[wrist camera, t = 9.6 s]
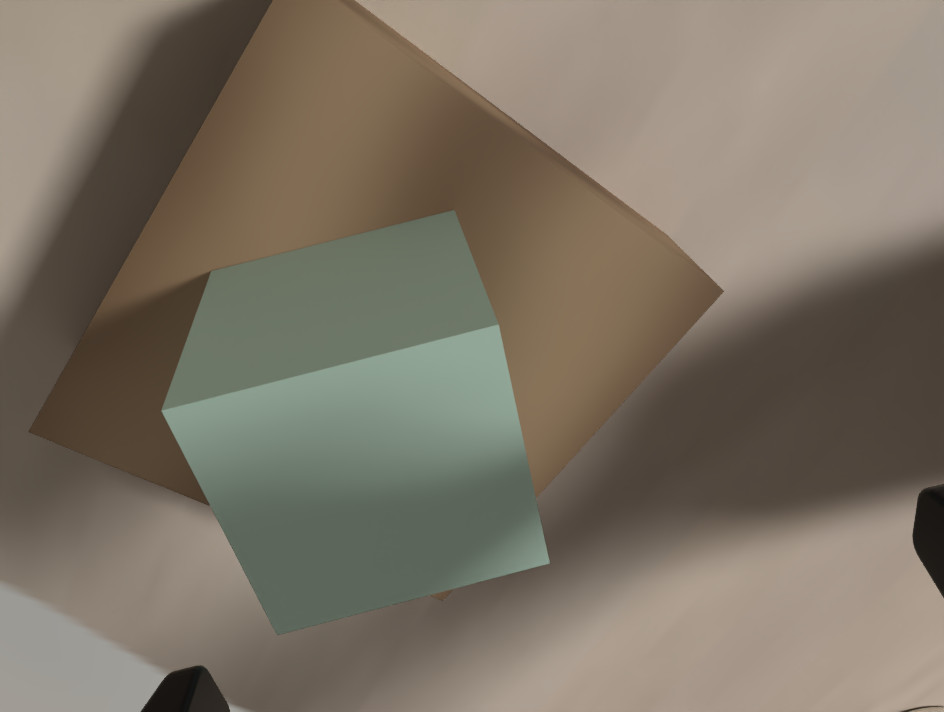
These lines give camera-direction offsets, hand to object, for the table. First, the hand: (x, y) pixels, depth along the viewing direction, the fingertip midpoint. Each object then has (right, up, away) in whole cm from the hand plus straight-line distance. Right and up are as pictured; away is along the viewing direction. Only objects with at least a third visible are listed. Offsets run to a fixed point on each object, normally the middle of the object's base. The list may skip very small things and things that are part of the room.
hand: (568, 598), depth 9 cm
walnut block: (-4, +5, +11) cm, 12 cm away
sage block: (-3, +3, +7) cm, 9 cm away
